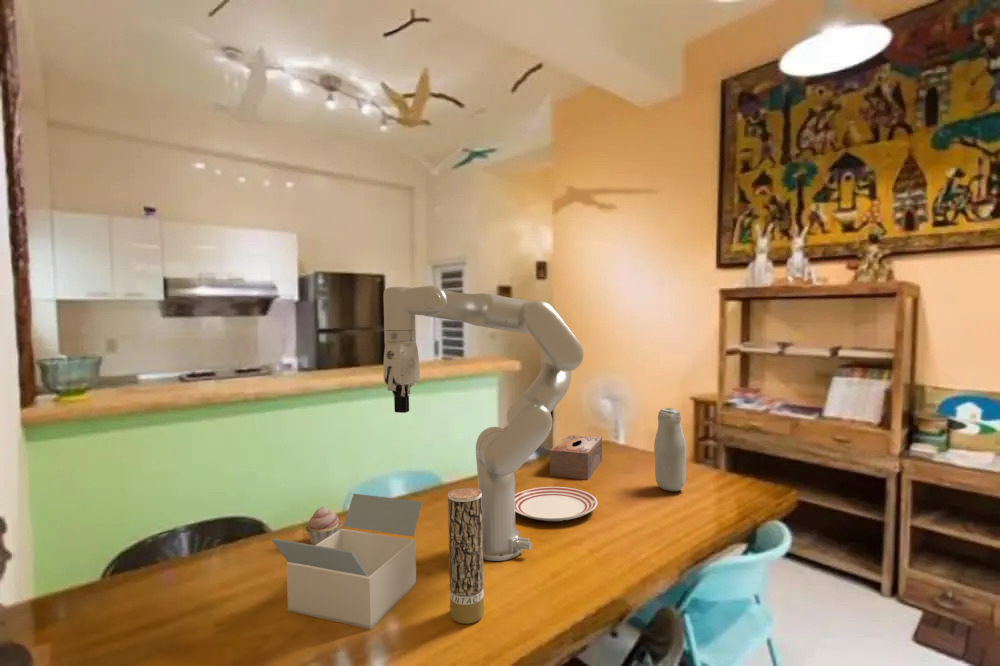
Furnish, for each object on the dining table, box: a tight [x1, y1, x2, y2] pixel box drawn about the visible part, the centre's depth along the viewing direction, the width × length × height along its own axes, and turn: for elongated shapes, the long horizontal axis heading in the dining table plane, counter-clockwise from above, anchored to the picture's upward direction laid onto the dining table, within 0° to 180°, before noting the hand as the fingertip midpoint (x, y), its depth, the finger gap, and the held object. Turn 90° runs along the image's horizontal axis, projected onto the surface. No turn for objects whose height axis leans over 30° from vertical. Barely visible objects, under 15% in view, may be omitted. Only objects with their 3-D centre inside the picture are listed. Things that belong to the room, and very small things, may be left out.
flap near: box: [270, 537, 367, 576], centre depth 100 cm, size 19×8×1 cm
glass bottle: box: [653, 407, 687, 493], centre depth 174 cm, size 10×10×28 cm
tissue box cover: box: [549, 434, 603, 481], centre depth 202 cm, size 26×14×10 cm, turn 158°
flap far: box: [343, 493, 423, 537], centre depth 122 cm, size 19×8×1 cm
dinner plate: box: [515, 486, 598, 522], centre depth 159 cm, size 28×27×3 cm
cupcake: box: [304, 505, 343, 545], centre depth 138 cm, size 9×9×10 cm
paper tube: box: [447, 487, 485, 625], centre depth 103 cm, size 7×7×25 cm
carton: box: [286, 528, 417, 630], centre depth 111 cm, size 20×18×10 cm
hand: (401, 411), depth 126 cm, fingers closed
